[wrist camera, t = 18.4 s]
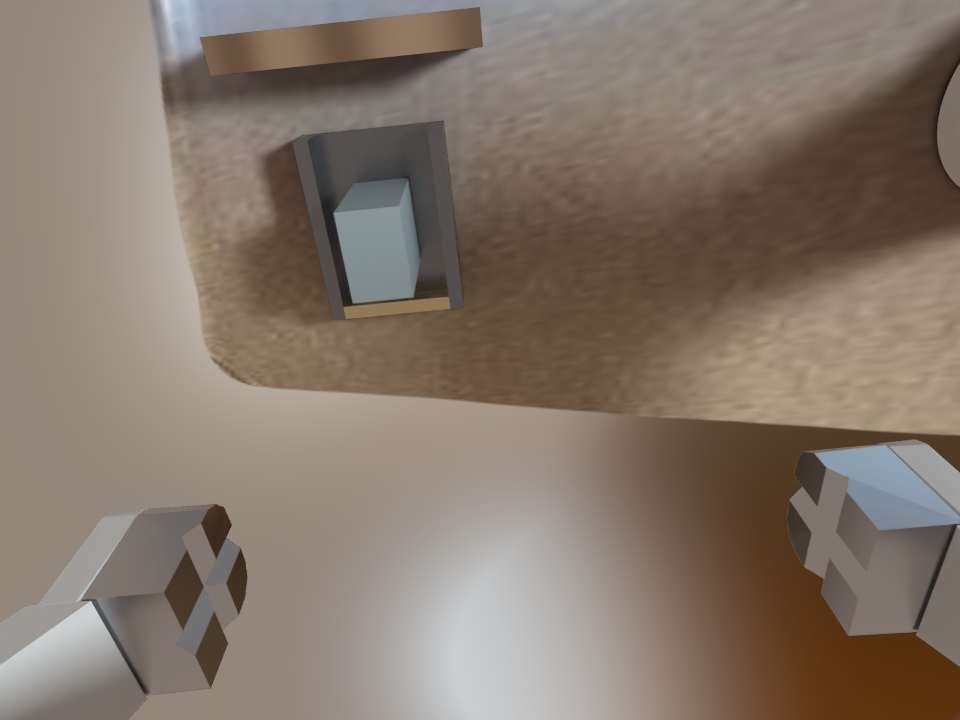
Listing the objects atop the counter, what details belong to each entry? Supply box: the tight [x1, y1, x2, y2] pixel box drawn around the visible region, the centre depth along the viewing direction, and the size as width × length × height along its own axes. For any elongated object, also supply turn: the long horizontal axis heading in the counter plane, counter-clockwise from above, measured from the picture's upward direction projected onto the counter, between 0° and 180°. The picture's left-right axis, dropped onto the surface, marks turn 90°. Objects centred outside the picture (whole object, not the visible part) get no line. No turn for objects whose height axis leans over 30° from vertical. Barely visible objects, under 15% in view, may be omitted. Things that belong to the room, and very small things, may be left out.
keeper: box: [292, 121, 463, 320], centre depth 45 cm, size 10×13×3 cm
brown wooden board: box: [200, 7, 483, 76], centre depth 38 cm, size 16×2×6 cm, turn 95°
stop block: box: [334, 178, 421, 303], centre depth 42 cm, size 4×6×8 cm, turn 6°
